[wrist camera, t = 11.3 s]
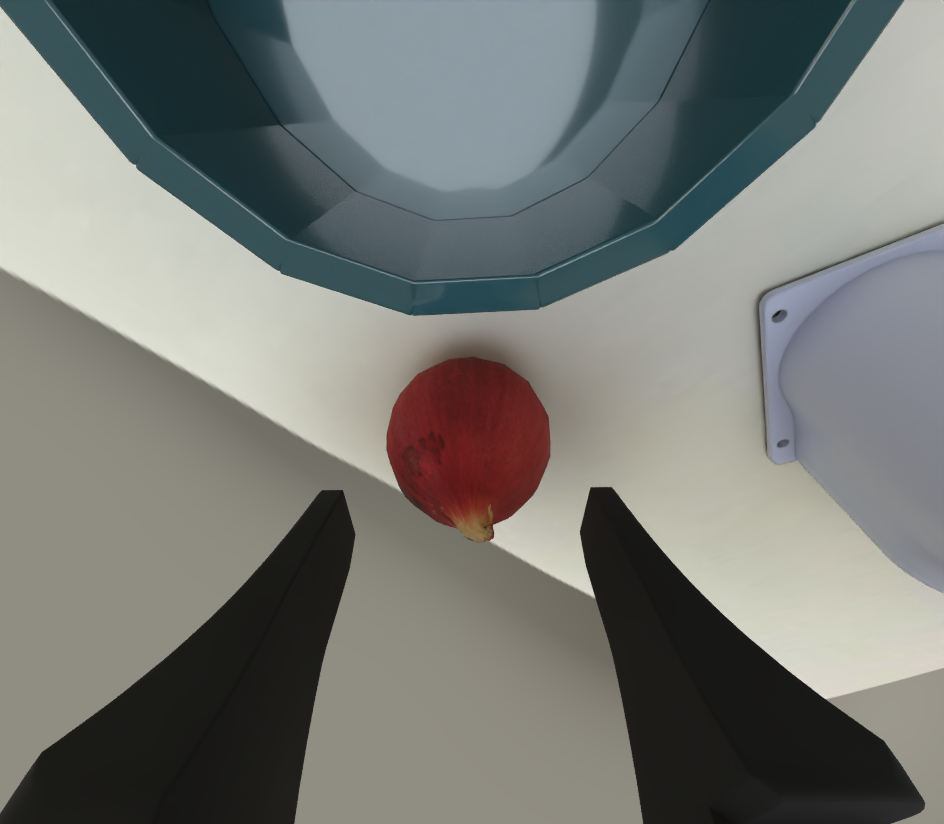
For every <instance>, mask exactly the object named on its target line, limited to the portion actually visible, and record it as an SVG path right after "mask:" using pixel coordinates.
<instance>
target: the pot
mask: <svg viewBox="0 0 944 824" xmlns="http://www.w3.org/2000/svg"><path fill="white" fill-rule="evenodd" d="M903 2H904V0H0V7H1V8H2V9H3V10H4V12H5V13H6V14H7V15H8V16H9V18H10V19H11V20H12V21H13V22H14V24H15V25H16V26H17V27H18V28H19V30H20V31H21V32H22V33H23V34H24V36H25V37H26V38H27V39H28V40H29V42H30V43H31V44H32V45H33V46H34V47H35V49H36V50H37V51H38V52H39V53H40V55H41V56H42V57H43V58H44V59H45V61H46V62H47V63H48V64H49V65H50V67H51V68H52V69H53V70H54V71H55V73H56V74H57V75H58V76H59V77H60V79H61V80H62V81H63V82H64V83H65V85H66V86H67V87H68V88H69V89H70V91H71V92H72V93H73V94H74V95H75V97H76V98H77V99H78V100H79V101H80V103H81V104H82V105H83V106H84V107H85V109H86V110H87V111H88V112H89V113H90V115H91V116H92V117H93V118H94V119H95V121H96V122H97V123H98V124H99V125H100V127H101V128H102V129H103V130H104V131H105V133H106V134H107V135H108V136H109V137H110V139H111V140H112V141H113V142H114V143H115V145H116V146H117V147H118V148H119V149H120V151H121V152H122V153H123V154H124V155H125V156H126V158H127V159H128V160H129V161H130V162H131V163H132V164H134V165H136V168H137V169H138V170H139V171H140V172H142V173H143V174H144V175H146V176H147V177H149V178H150V179H151V180H153V181H154V182H155V183H157V184H158V185H160V186H161V187H162V188H164V189H165V190H167V191H168V192H169V193H171V194H172V195H173V196H175V197H176V198H178V199H179V200H180V201H182V202H183V203H185V204H186V205H187V206H189V207H190V208H191V209H193V210H194V211H196V212H197V213H198V214H200V215H201V216H202V217H204V218H205V219H207V220H208V221H209V222H211V223H212V224H214V225H215V226H216V227H218V228H219V229H220V230H222V231H223V232H225V233H226V234H227V235H229V236H230V237H232V238H233V239H234V240H236V241H237V242H238V243H240V244H241V245H243V246H244V247H245V248H247V249H248V250H249V251H251V252H252V253H254V254H255V255H256V256H258V257H259V258H261V259H262V260H263V261H265V262H266V263H267V264H269V265H270V266H272V267H273V268H274V269H276V270H278V271H280V272H281V274H284V275H287V276H290V277H293V278H296V279H300V280H303V281H306V282H309V283H312V284H315V285H318V286H321V287H324V288H327V289H331V290H334V291H337V292H340V293H343V294H346V295H349V296H352V297H355V298H358V299H361V300H365V301H368V302H371V303H374V304H377V305H380V306H383V307H386V308H389V309H392V310H395V311H399V312H402V313H405V314H408V315H412V314H413V315H414V316H417V315H437V314H457V313H476V312H496V311H516V310H536V309H539V308H540V307H545V306H547V305H550V304H552V303H554V302H556V301H559V300H561V299H563V298H566V297H568V296H570V295H573V294H575V293H577V292H579V291H582V290H584V289H586V288H589V287H591V286H593V285H595V284H598V283H600V282H602V281H605V280H607V279H609V278H612V277H614V276H616V275H618V274H621V273H623V272H625V271H628V270H630V269H632V268H635V267H637V266H639V265H641V264H644V263H646V262H648V261H651V260H653V259H655V258H657V257H660V256H662V255H664V254H667V253H668V252H670V250H671V251H673V250H675V249H676V248H677V247H678V246H679V245H681V244H682V243H683V242H684V241H685V240H686V239H687V238H689V237H690V236H691V235H692V234H693V233H694V232H695V231H697V230H698V229H699V228H700V227H701V226H702V225H704V224H705V223H706V222H707V221H708V220H709V219H710V218H712V217H713V216H714V215H715V214H716V213H717V212H718V211H720V210H721V209H722V208H723V207H724V206H725V205H726V204H728V203H729V202H730V201H731V200H732V199H733V198H735V197H736V196H737V195H738V194H739V193H740V192H741V191H743V190H744V189H745V188H746V187H747V186H748V185H749V184H751V183H752V182H753V181H754V180H755V179H756V178H757V177H759V176H760V175H761V174H762V173H763V172H764V171H766V170H767V169H768V168H769V167H770V166H771V165H772V164H774V163H775V162H776V161H777V160H778V159H779V158H780V157H782V156H783V155H784V154H785V153H786V152H787V151H788V150H790V149H791V148H792V147H793V146H794V145H795V144H796V143H798V142H799V141H800V140H801V139H802V138H803V137H805V136H806V135H807V134H808V133H809V132H810V131H811V130H813V129H814V128H815V126H816V123H818V122H819V121H820V120H821V119H822V117H823V116H824V114H825V113H826V111H827V110H828V109H829V107H830V106H831V104H832V103H833V101H834V100H835V99H836V97H837V96H838V94H839V93H840V91H841V90H842V89H843V87H844V86H845V84H846V83H847V81H848V80H849V79H850V77H851V76H852V74H853V73H854V71H855V70H856V69H857V67H858V66H859V64H860V63H861V61H862V60H863V59H864V57H865V56H866V54H867V53H868V51H869V50H870V49H871V47H872V46H873V44H874V43H875V42H876V40H877V39H878V37H879V36H880V34H881V33H882V32H883V30H884V29H885V27H886V26H887V24H888V23H889V22H890V20H891V19H892V17H893V16H894V14H895V13H896V12H897V10H898V9H899V7H900V6H901V4H902V3H903Z"/></svg>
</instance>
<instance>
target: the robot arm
mask: <svg viewBox="0 0 944 824" xmlns="http://www.w3.org/2000/svg"><path fill="white" fill-rule="evenodd" d="M779 310H780V313H779V314H778V316H776V317H775V318H772V316H773V315H774V314H775V313H776V312H777V311H779ZM759 314H760V331H761V348H762V365H763V381H764V398H765V415H766V432H767V449H768V457H769V459H770V460H771V461H772V463H774V464H778V465H780V464H785V463H789V462H792V461H796V460H797V461H798V462H799V463H800V464H801V465H802V466H803V467H804V468H805V469H806V470H807V471H808V473H809V474H810V475H811V476H812V477H813V478H814V479H815V480H816V481H817V482H818V483H819V484H820V485H821V486H822V488H823V489H824V490H825V491H826V492H827V493H828V494H829V495H830V496H831V497H832V498H833V499H834V500H835V502H836V503H837V504H838V505H839V506H840V507H841V508H842V509H843V510H844V511H845V512H846V513H847V514H848V515H849V517H850V518H851V519H852V520H853V521H854V522H855V523H856V524H857V525H858V526H859V527H860V528H861V529H862V531H863V532H864V533H865V534H866V535H867V536H868V537H869V538H870V539H871V540H872V541H873V542H874V543H875V544H876V546H877V547H878V548H879V549H880V550H881V551H882V552H883V553H884V554H885V555H886V556H887V557H888V558H889V559H890V560H891V561H892V562H893V563H895V564H896V565H897V566H898V567H899V568H901V569H902V570H903V571H905V572H906V573H908V574H909V575H910V576H912V577H914V578H915V579H917V580H918V581H920V582H922V583H924V584H926V585H927V586H929V587H931V588H934V589H936V590H938V591H940V592H942V593H944V223H943V224H941V225H938V226H936V227H933V228H930V229H928V230H925V231H923V232H920V233H918V234H915V235H912V236H910V237H907V238H905V239H902V240H900V241H897V242H894V243H892V244H889V245H887V246H884V247H882V248H879V249H876V250H874V251H871V252H869V253H866V254H864V255H861V256H858V257H856V258H853V259H851V260H848V261H846V262H843V263H840V264H838V265H835V266H833V267H830V268H828V269H825V270H822V271H820V272H817V273H815V274H812V275H810V276H807V277H804V278H802V279H799V280H797V281H794V282H792V283H789V284H786V285H784V286H781V287H779V288H776V289H774V290H772V291H770V292H768V293H767V294H766V295H765V296H764V297H763V298H762V299H761V301H760V304H759ZM580 535H581V541H582V547H583V553H584V558H585V563H586V567H587V571H588V574H589V578H590V581H591V584H592V588H593V591H594V594H595V598H596V601H597V604H598V608H599V611H600V614H601V617H602V620H603V624H604V627H605V631H606V633H607V637H608V640H609V644H610V648H611V651H612V655H613V659H614V664H615V668H616V673H617V678H618V683H619V688H620V693H621V697H622V702H623V708H624V713H625V718H626V723H627V729H628V734H629V739H630V745H631V750H632V757H633V762H634V768H635V774H636V779H637V786H638V792H639V798H640V805H641V812H642V818H643V824H891V823H894V822H897V821H900V820H903V819H906V818H908V817H911V816H914V815H916V814H918V813H920V812H921V811H922V810H924V807H925V802H924V800H923V798H922V797H921V795H920V794H919V792H918V790H917V789H916V787H915V786H914V784H913V783H912V781H911V780H910V778H909V776H908V775H907V773H906V772H905V770H904V769H903V767H902V766H901V764H900V763H899V762H898V760H897V759H896V757H895V756H894V755H893V753H892V752H891V750H890V749H889V748H888V746H887V745H886V743H885V742H884V741H883V740H882V739H880V738H879V737H878V736H876V735H875V734H873V733H872V732H871V731H869V730H868V729H866V728H865V727H864V726H862V725H861V724H859V723H858V722H856V721H855V720H854V719H852V718H851V717H849V716H848V715H847V714H845V713H844V712H842V711H841V710H840V709H838V708H837V707H835V706H834V705H833V704H831V703H830V702H828V701H827V700H826V699H824V698H823V697H822V696H820V695H819V694H818V693H816V692H815V691H814V690H812V689H811V688H810V687H809V686H807V685H806V684H805V683H803V682H802V681H801V680H799V679H798V678H797V677H796V676H794V675H793V674H792V673H790V672H789V671H788V670H787V669H785V668H784V667H783V666H782V665H781V664H779V663H778V662H777V661H776V660H775V659H773V658H772V657H771V656H770V655H769V654H768V653H766V652H765V651H764V650H763V649H762V648H760V647H759V646H758V645H757V644H756V643H754V642H753V641H752V640H751V639H750V638H748V637H747V636H746V635H745V634H744V633H743V632H742V631H741V630H739V629H738V628H737V627H736V626H735V625H734V624H733V623H732V622H731V621H730V620H728V619H727V618H726V617H725V616H724V615H723V614H722V613H721V612H720V611H719V610H718V609H717V608H716V607H715V606H714V605H713V604H712V603H711V602H710V601H709V600H708V599H707V598H706V597H705V596H704V595H703V594H702V593H701V592H700V591H699V590H698V589H697V588H696V587H695V586H694V585H693V584H692V583H691V582H690V581H689V580H688V579H687V578H686V577H685V576H684V575H683V573H682V572H681V571H680V570H679V569H678V568H677V567H676V566H675V565H674V564H673V562H672V561H671V560H670V559H669V558H668V557H667V556H666V554H665V553H664V552H663V551H662V550H661V549H660V547H659V546H658V545H657V544H656V543H655V541H654V540H653V539H652V538H651V537H650V535H649V534H648V533H647V532H646V531H645V529H644V528H643V527H642V526H641V524H640V523H639V522H638V520H637V519H636V518H635V517H634V515H633V514H632V513H631V511H630V510H629V509H628V508H627V506H626V505H625V504H624V502H623V501H622V500H621V498H620V497H619V496H618V494H617V493H616V492H615V490H614V489H613V488H612V487H590V492H589V496H588V500H587V504H586V508H585V513H584V517H583V521H582V525H581V530H580ZM354 540H355V531H354V528H353V524H352V521H351V517H350V514H349V510H348V507H347V503H346V499H345V496H344V493H343V490H322V491H321V492H320V493H319V494H318V495H317V496H316V498H315V499H314V501H313V502H312V503H311V504H310V506H309V507H308V508H307V510H306V511H305V512H304V514H303V515H302V516H301V517H300V519H299V520H298V521H297V523H296V524H295V525H294V526H293V528H292V529H291V530H290V531H289V533H288V534H287V535H286V536H285V538H284V539H283V540H282V541H281V542H280V543H279V545H278V546H277V547H276V548H275V550H274V551H273V552H272V553H271V554H270V555H269V557H268V558H267V559H266V560H265V561H264V562H263V563H262V565H261V566H260V567H259V568H258V569H257V570H256V571H255V572H254V573H253V575H252V576H251V577H250V578H249V579H248V580H247V581H246V583H244V585H243V586H242V587H241V588H240V589H239V590H238V591H237V592H236V593H235V594H234V595H233V596H232V597H231V598H230V599H229V600H228V601H227V602H226V603H225V604H224V605H223V606H222V607H221V608H220V609H219V610H218V611H217V612H216V613H215V614H214V615H213V616H212V617H211V618H210V619H209V620H208V621H207V622H206V623H204V624H203V625H202V626H201V627H200V628H199V629H198V630H197V631H196V632H195V633H193V634H192V635H191V636H190V637H189V638H188V639H187V640H186V641H185V642H184V643H182V644H181V645H180V646H179V647H178V648H177V649H176V650H175V651H173V652H172V653H171V654H170V655H169V656H168V657H166V658H165V659H164V660H163V661H162V662H160V663H159V664H158V665H157V666H155V667H154V668H153V669H152V670H150V671H149V672H148V673H147V674H146V675H144V676H143V677H142V678H141V679H139V680H138V681H137V682H136V683H134V684H133V685H132V686H131V687H130V688H128V689H127V690H126V691H125V692H123V693H122V694H121V695H120V696H118V697H117V698H116V699H114V700H113V701H112V702H110V703H109V704H108V705H106V706H105V707H104V708H102V709H101V710H100V711H98V712H97V713H95V714H94V715H93V716H91V717H90V718H89V719H87V720H86V721H85V722H83V723H82V724H81V725H79V726H78V727H76V728H75V729H74V730H72V731H71V732H69V733H68V734H67V735H65V736H64V737H63V738H61V739H60V740H59V741H57V742H56V743H54V744H53V745H51V746H50V747H49V748H47V749H46V750H44V751H43V752H42V753H41V754H40V756H39V757H38V759H37V760H36V761H35V763H34V764H33V765H32V767H31V769H30V770H29V771H28V773H27V774H26V776H25V777H24V779H23V780H22V781H21V783H20V785H19V786H18V788H17V789H16V791H15V792H14V794H13V795H12V797H11V798H10V800H9V801H8V803H7V804H6V806H5V807H4V809H3V810H2V812H1V813H0V824H294V822H295V815H296V808H297V801H298V793H299V787H300V781H301V775H302V769H303V763H304V757H305V751H306V745H307V739H308V734H309V728H310V723H311V717H312V712H313V706H314V701H315V696H316V691H317V686H318V681H319V676H320V672H321V667H322V662H323V658H324V654H325V650H326V647H327V643H328V640H329V636H330V633H331V630H332V626H333V623H334V620H335V616H336V613H337V609H338V606H339V602H340V599H341V596H342V593H343V589H344V586H345V583H346V579H347V576H348V572H349V569H350V563H351V558H352V552H353V546H354Z"/></svg>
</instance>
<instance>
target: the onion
mask: <svg viewBox="0 0 944 824" xmlns="http://www.w3.org/2000/svg"><path fill="white" fill-rule="evenodd" d="M386 450H387V453H388V457H389V460H390V464H391V466H392V469H393V472H394V474H395V477H396V480H397V482H398V485H399V487H400V489H401V491H402V492H403V494H404V495H405V497H406V498H407V499H409V501H410V502H411V503H412V504H413V505H415V506H416V507H417V508H419V509H420V510H421V511H423V512H424V513H426V514H427V515H428V516H430V517H431V518H432V519H434V520H435V521H437V522H439V523H442V524H444V525H448V526H451V527H454V528H457V529H459V530H460V531H461V533H462V534H463V535H464V537H466V538H467V539H469V540H472V541H475V542H486V541H490V540H491V539H493V538H494V530H493V525H494V524H496V523H498V522H501V521H503V520H506V519H508V518H509V517H511V516H512V515H513V514H514V513H515V512H517V511H518V510H519V509H520V508H521V507H522V506H523V505H524V504H525V503H526V502H527V501H528V500H529V499H530V498H531V497H532V496H533V494H534V493H535V491H536V490H537V488H538V486H539V484H540V481H541V479H542V476H543V474H544V472H545V469H546V467H547V464H548V461H549V458H550V430H549V417H548V415H547V413H546V411H545V409H544V407H543V405H542V404H541V402H540V400H539V399H538V397H537V395H536V394H535V392H534V390H533V389H532V387H531V385H530V384H529V382H528V381H527V380H525V379H524V378H522V377H521V376H520V375H518V374H517V373H516V372H514V371H513V370H511V369H510V368H509V367H507V366H506V365H505V364H501V363H496V362H492V361H487V360H483V359H479V358H476V357H469V358H456V359H448V360H446V361H443V362H441V363H439V364H437V365H435V366H433V367H431V368H429V369H427V370H425V371H423V372H421V373H419V374H418V375H417V376H416V377H415V378H414V379H413V380H412V381H411V382H410V384H409V385H408V386H407V387H406V388H405V389H404V390H403V391H402V393H401V394H400V395H399V397H398V399H397V401H396V403H395V405H394V407H393V410H392V414H391V418H390V422H389V427H388V431H387V449H386Z"/></svg>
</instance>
